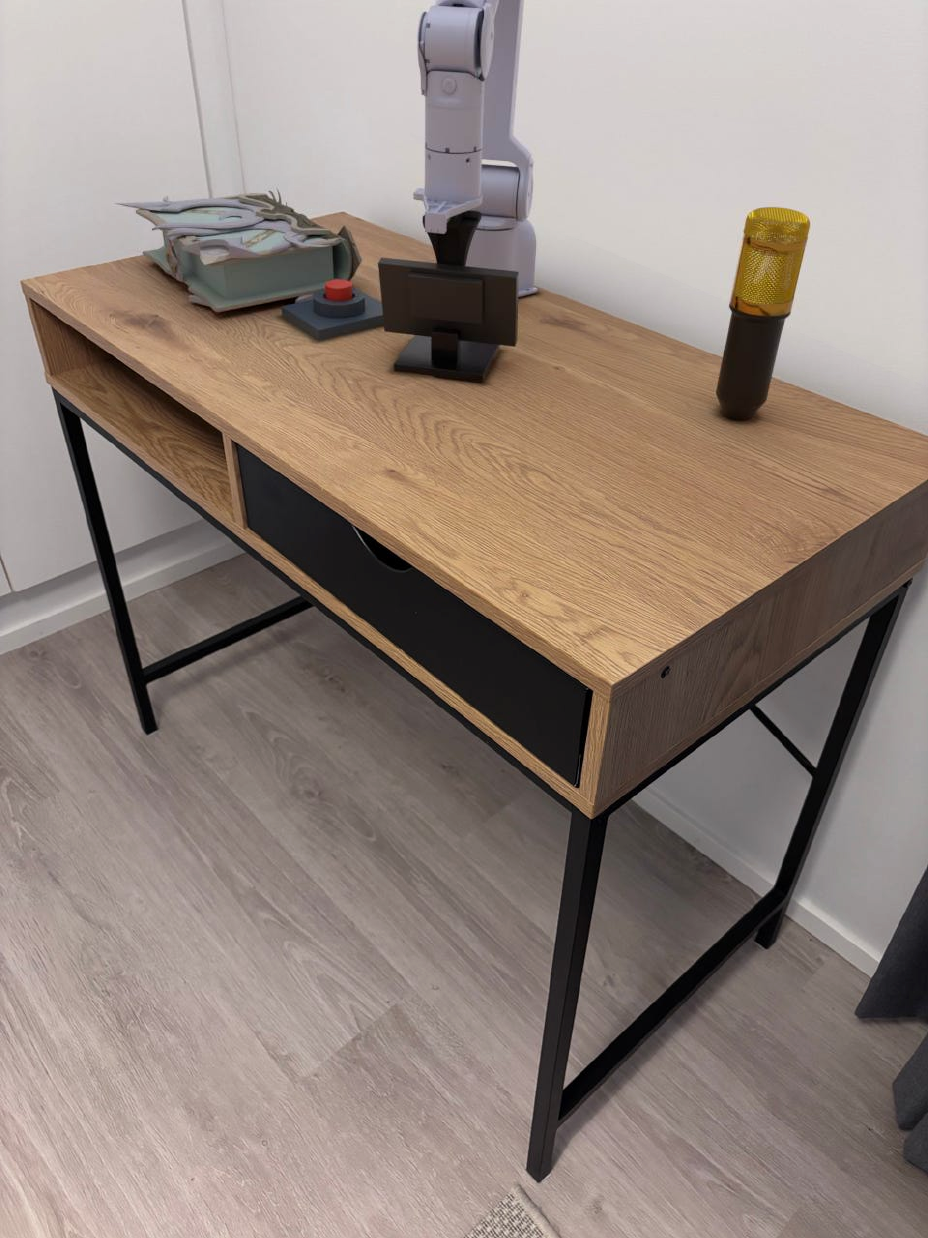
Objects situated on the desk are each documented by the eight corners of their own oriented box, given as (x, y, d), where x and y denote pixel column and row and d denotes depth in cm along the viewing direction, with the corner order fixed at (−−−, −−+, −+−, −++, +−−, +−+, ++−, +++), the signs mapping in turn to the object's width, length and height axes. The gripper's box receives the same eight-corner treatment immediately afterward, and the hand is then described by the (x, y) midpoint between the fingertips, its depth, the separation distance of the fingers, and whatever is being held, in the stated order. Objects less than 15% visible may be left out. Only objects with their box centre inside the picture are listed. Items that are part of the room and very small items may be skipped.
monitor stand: (415, 341, 116) (415, 307, 114) (499, 351, 115) (501, 317, 112) (393, 372, 109) (393, 336, 107) (482, 383, 108) (484, 347, 105)
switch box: (359, 300, 127) (358, 276, 125) (398, 322, 121) (398, 297, 119) (281, 317, 121) (279, 292, 120) (319, 341, 116) (317, 316, 114)
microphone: (688, 372, 111) (721, 183, 99) (778, 418, 103) (826, 217, 91) (649, 384, 109) (678, 190, 97) (738, 431, 100) (782, 226, 88)
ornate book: (372, 302, 129) (268, 232, 147) (371, 226, 123) (263, 163, 141) (207, 337, 118) (118, 257, 137) (197, 255, 112) (106, 183, 131)
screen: (387, 325, 113) (381, 256, 107) (517, 340, 110) (519, 270, 104) (382, 335, 112) (375, 266, 105) (513, 351, 109) (515, 281, 103)
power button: (343, 291, 121) (342, 277, 120) (357, 299, 119) (357, 284, 118) (320, 296, 120) (319, 282, 119) (334, 304, 118) (333, 290, 117)
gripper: (433, 129, 106) (432, 259, 114) (394, 160, 94) (396, 302, 102) (498, 134, 104) (492, 265, 113) (466, 166, 93) (462, 309, 101)
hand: (450, 283), depth 107 cm, fingers closed, pressing on screen
